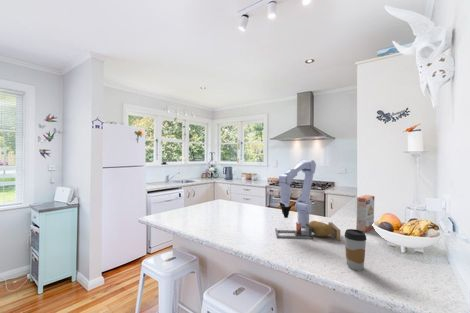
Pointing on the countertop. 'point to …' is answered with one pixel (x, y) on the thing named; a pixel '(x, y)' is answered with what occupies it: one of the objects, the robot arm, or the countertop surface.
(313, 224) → the potato
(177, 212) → the countertop surface
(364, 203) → the cracker box
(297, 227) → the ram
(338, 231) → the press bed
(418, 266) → the countertop surface
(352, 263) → the coffee cup
